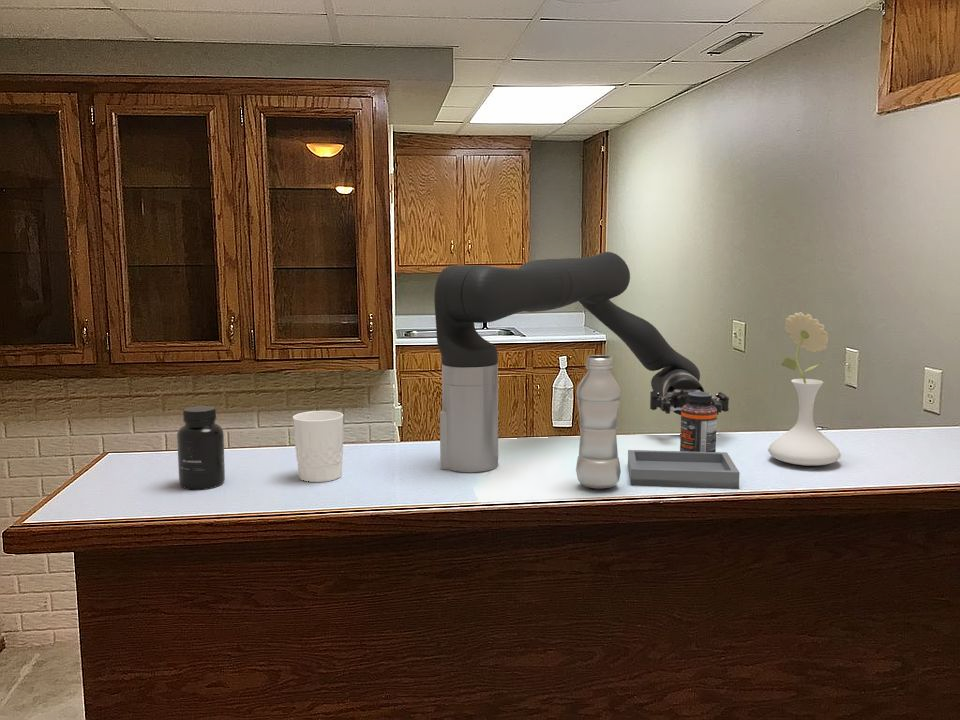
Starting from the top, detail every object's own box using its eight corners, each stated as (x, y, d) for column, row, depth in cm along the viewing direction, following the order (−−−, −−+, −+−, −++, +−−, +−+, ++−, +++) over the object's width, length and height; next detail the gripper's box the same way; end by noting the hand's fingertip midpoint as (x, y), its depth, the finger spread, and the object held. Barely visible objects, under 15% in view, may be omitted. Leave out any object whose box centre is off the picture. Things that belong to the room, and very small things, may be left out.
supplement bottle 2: (672, 456, 144) (673, 392, 143) (697, 452, 147) (699, 388, 145) (697, 464, 139) (699, 397, 137) (723, 459, 142) (725, 394, 140)
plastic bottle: (619, 494, 123) (621, 360, 120) (573, 492, 124) (574, 359, 121) (621, 482, 129) (623, 354, 126) (577, 480, 130) (578, 353, 128)
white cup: (315, 467, 139) (313, 409, 137) (355, 473, 135) (353, 412, 134) (285, 480, 132) (282, 418, 130) (325, 486, 128) (323, 422, 127)
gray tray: (630, 485, 127) (631, 469, 127) (627, 464, 139) (628, 449, 139) (738, 488, 125) (739, 472, 125) (726, 467, 137) (727, 452, 137)
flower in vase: (854, 469, 135) (863, 315, 132) (789, 473, 133) (796, 317, 130) (811, 449, 148) (818, 309, 144) (750, 452, 146) (756, 310, 143)
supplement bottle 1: (183, 493, 125) (178, 414, 124) (176, 481, 131) (171, 406, 130) (229, 486, 129) (225, 410, 127) (221, 475, 135) (217, 402, 133)
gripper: (647, 373, 167) (652, 387, 151) (720, 374, 165) (733, 388, 149) (646, 410, 168) (651, 428, 152) (719, 412, 166) (732, 430, 150)
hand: (692, 408), depth 150 cm, fingers open, 8 cm apart
